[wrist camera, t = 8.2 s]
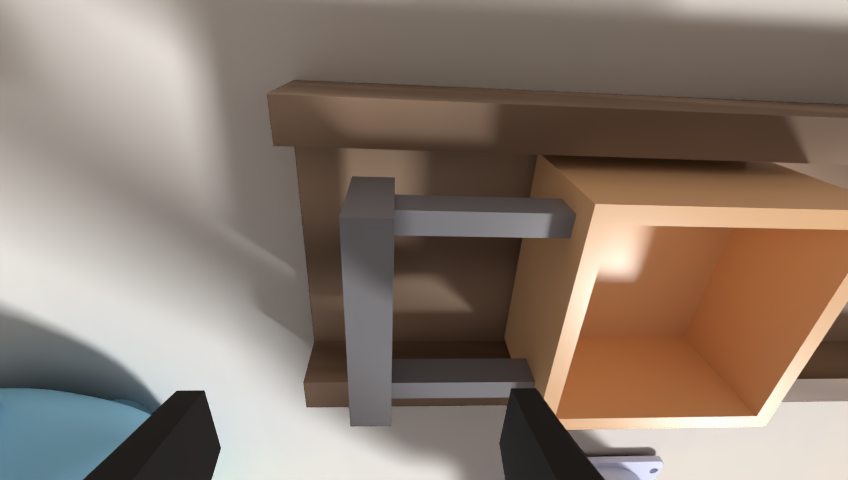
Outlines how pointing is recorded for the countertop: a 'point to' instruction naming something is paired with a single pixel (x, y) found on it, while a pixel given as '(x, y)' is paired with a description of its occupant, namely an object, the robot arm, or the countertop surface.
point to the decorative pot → (61, 432)
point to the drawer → (616, 290)
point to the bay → (506, 177)
